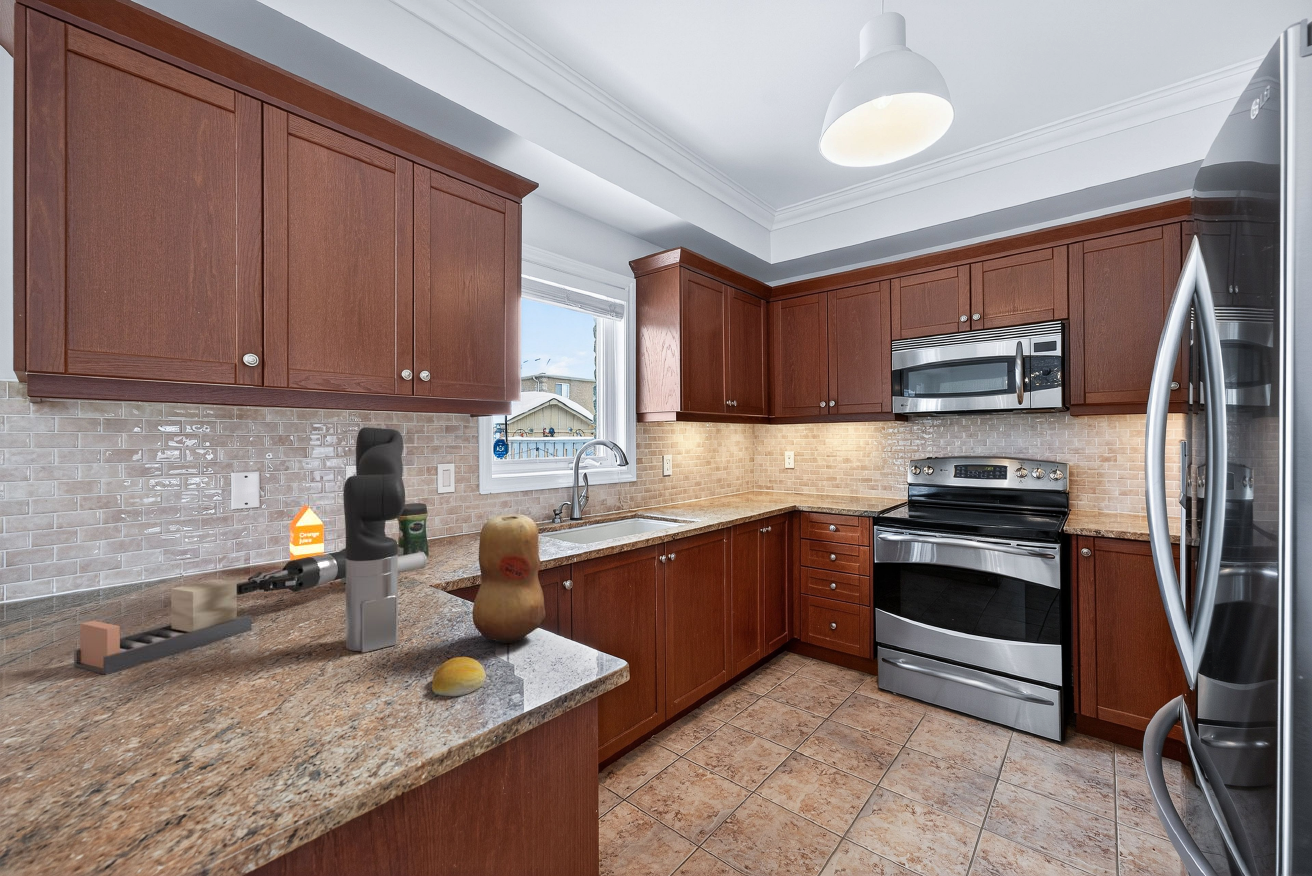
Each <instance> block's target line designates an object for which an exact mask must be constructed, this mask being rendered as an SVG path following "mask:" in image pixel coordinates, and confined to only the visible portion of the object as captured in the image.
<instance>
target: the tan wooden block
mask: <svg viewBox="0 0 1312 876" xmlns="http://www.w3.org/2000/svg"><path fill="white" fill-rule="evenodd" d="M237 584H238V582H237V581H232V580H224V579H216V578H214V579H210V580H204V581H200V582H195V583H191V584H186V585H182V586H177V587H172V588H171V589H170V590H171V592H170V593H171V594H170V595H171V598H170V599H171V601H170V602H171V603H170V604H171V607H170V610H171V611H170V613H171V615H170V616H171V621H170V622H171V623H170V624H171V628H172V629H177V630H182V631H188V632H192V631H196V630H199V629H203V628H206V627H210V626H213V625H216V624H220V623H223V622H227V621H230V620H234V619H237V618H238V617H237V611H238V607H237V605H238V603H237V600H238V598H237V597H238V595H237Z"/></svg>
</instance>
